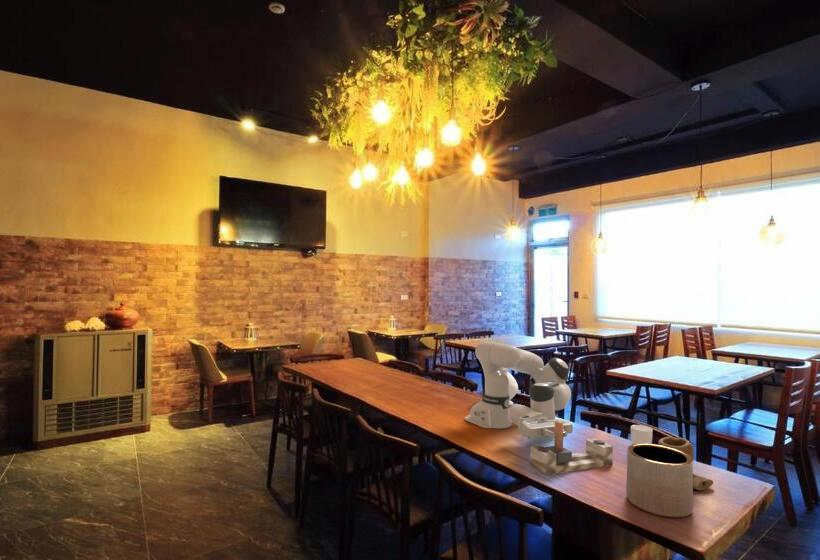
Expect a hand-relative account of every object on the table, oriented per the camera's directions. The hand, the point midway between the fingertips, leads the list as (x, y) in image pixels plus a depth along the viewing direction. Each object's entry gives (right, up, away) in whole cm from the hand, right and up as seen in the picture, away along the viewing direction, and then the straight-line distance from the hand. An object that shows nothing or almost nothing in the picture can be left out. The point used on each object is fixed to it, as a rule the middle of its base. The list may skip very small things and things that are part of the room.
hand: (560, 435), depth 160 cm
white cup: (+38, -13, +17) cm, 44 cm away
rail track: (+5, -12, +3) cm, 13 cm away
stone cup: (+38, -13, -11) cm, 41 cm away
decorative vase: (-3, -13, +88) cm, 89 cm away
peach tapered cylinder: (0, -10, +1) cm, 10 cm away
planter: (+21, -12, -26) cm, 35 cm away
